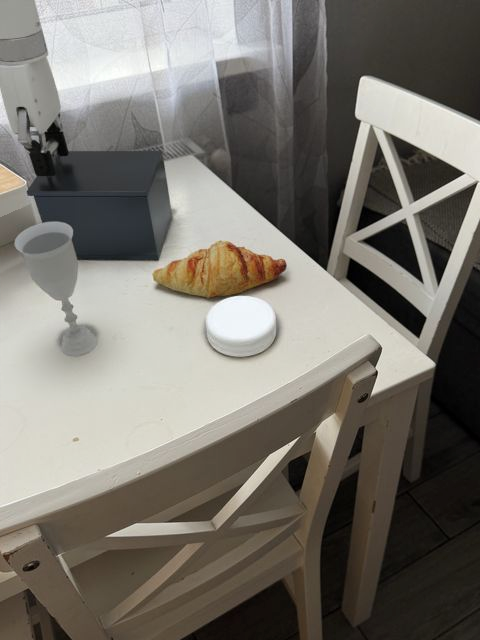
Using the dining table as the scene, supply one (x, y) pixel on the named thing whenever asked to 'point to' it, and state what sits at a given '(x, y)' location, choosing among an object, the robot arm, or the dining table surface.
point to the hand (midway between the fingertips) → (52, 164)
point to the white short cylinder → (241, 326)
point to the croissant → (219, 271)
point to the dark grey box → (114, 222)
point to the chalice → (56, 275)
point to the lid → (97, 173)
